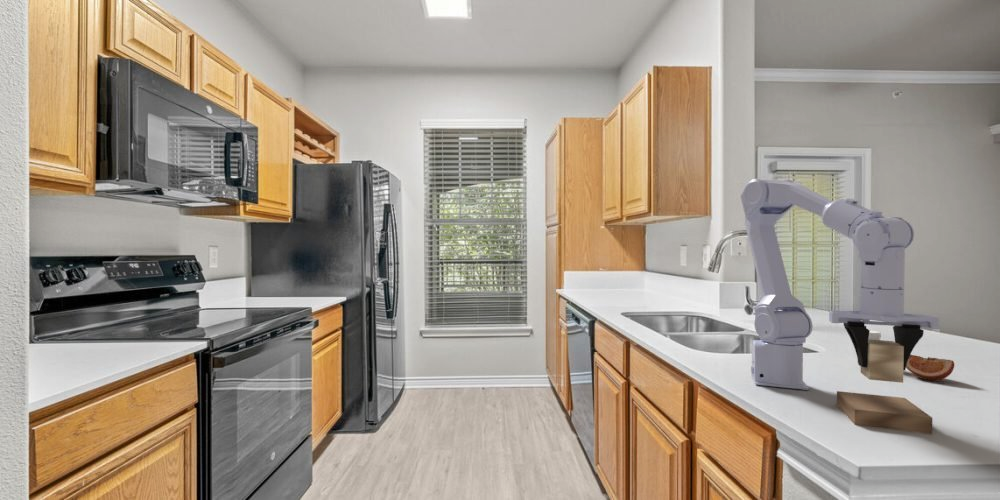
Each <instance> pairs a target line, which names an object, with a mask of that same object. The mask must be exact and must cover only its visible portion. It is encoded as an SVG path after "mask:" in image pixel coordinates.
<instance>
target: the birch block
mask: <svg viewBox="0 0 1000 500" xmlns="http://www.w3.org/2000/svg"><path fill="white" fill-rule="evenodd" d="M867 355H868V363H867V367H861V366H860V373H861V374H862V375H863V376H864V377H865V378H867V379H868V380H871V381H881V382H882V381H883V382H890V383H891V382H892V383H904V370H903V362H904V346H902V345H900V344H898V343H896V342H895V340H894V341H893V340H885V339H884V340H882V339H880V340H869V339H868V346H867Z"/></svg>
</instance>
